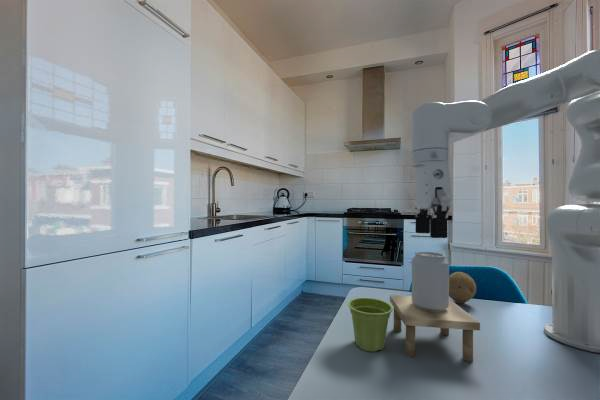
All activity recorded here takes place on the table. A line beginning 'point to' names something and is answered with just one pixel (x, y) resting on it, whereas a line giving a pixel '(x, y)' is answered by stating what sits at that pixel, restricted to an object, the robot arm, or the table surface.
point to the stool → (433, 323)
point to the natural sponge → (461, 287)
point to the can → (430, 281)
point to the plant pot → (370, 322)
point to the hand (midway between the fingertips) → (430, 235)
